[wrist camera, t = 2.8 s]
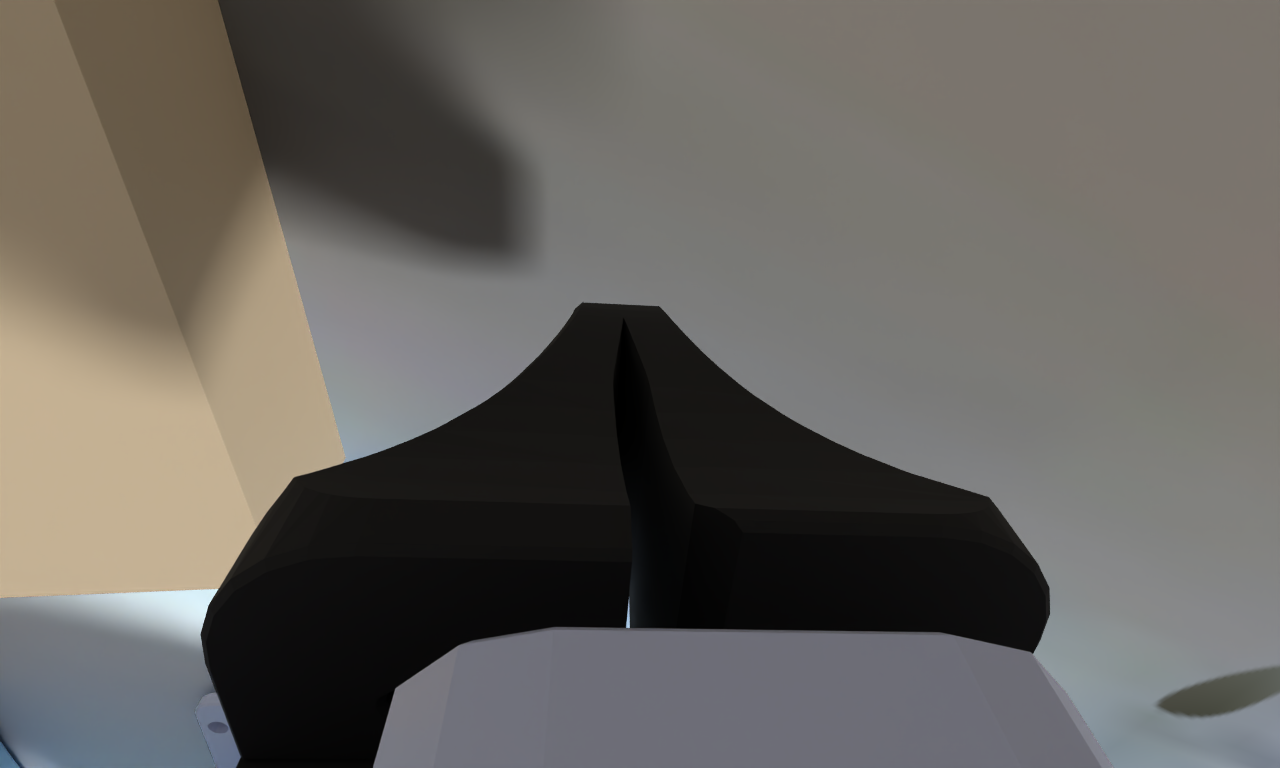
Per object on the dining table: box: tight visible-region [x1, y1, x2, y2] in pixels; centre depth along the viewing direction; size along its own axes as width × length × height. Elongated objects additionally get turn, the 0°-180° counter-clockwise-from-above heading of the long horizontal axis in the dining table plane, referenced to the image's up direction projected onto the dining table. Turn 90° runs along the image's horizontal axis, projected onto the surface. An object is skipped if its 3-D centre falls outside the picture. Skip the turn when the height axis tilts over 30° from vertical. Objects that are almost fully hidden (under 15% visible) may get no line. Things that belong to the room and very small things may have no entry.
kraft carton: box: [0, 0, 345, 598], centre depth 12 cm, size 9×7×4 cm
